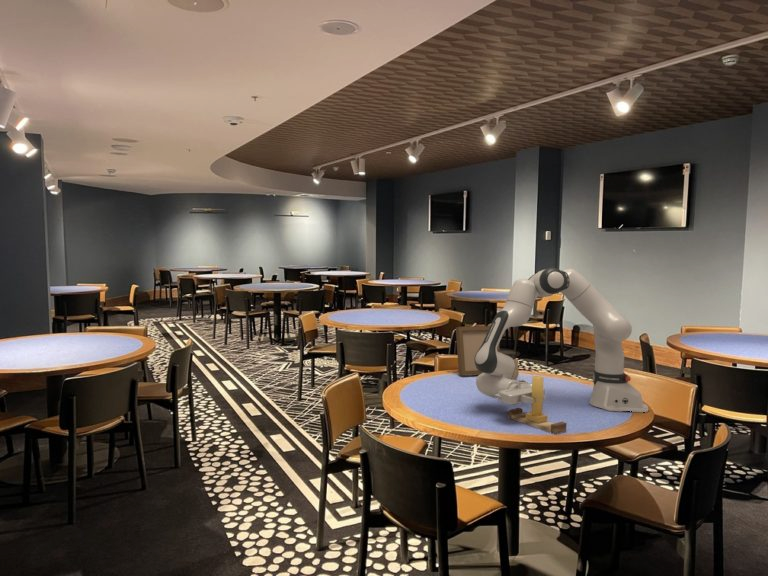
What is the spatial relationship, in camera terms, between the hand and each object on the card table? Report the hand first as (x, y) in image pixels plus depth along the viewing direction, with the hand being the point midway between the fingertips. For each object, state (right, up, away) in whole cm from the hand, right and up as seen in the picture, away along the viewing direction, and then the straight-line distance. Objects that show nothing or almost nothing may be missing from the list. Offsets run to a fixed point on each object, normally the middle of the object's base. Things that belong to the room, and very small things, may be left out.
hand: (538, 399), depth 198 cm
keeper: (-1, -8, +1) cm, 8 cm away
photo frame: (-9, -4, +83) cm, 84 cm away
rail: (-1, -9, +1) cm, 10 cm away
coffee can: (+3, -5, +70) cm, 71 cm away
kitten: (0, -6, +53) cm, 53 cm away
